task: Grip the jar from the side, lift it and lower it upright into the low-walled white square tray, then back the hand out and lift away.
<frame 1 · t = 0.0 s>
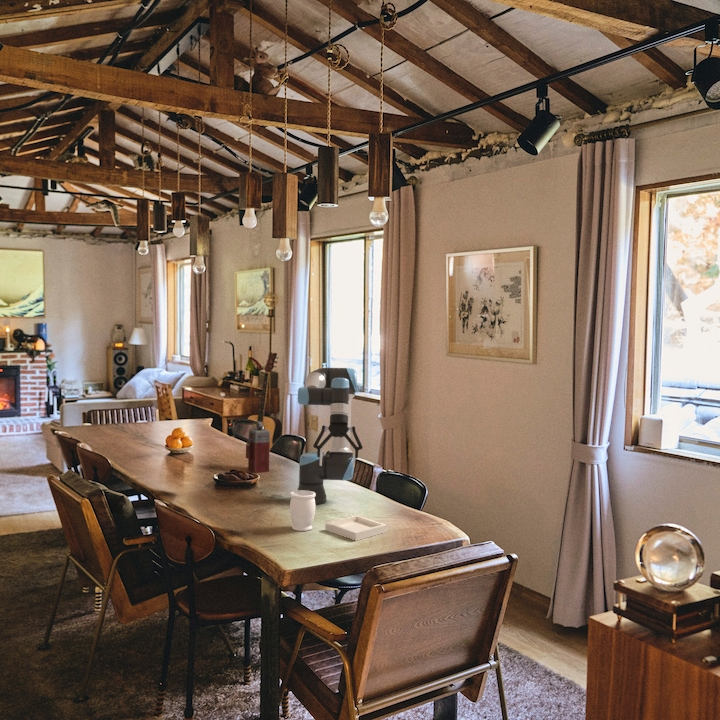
hand: (337, 466, 287), 28 cm above the table, tool tilted 20°, fingers open, 13 cm apart
jar: (302, 528, 294), on the table
white square tray: (356, 531, 292), on the table
toy vending machine: (256, 471, 397), on the table
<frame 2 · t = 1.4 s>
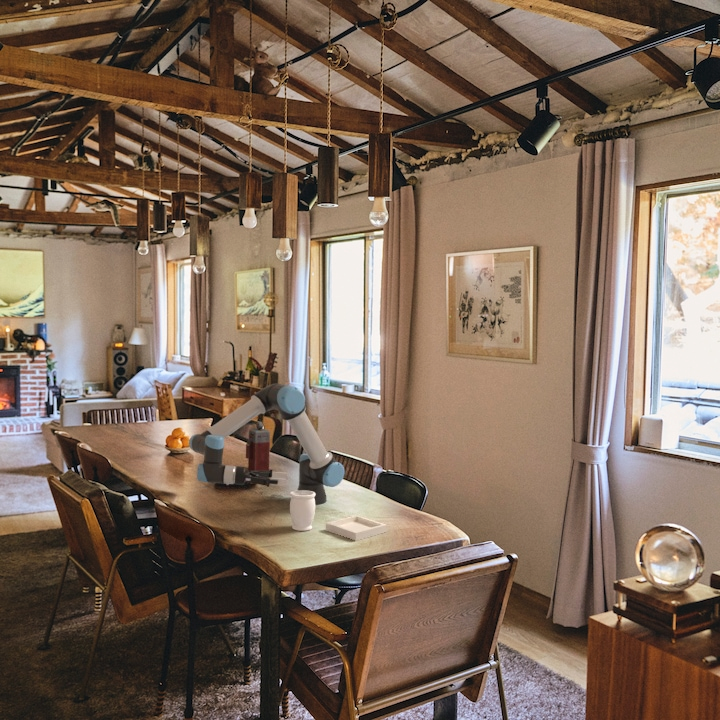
hand: (286, 479, 292), 21 cm above the table, tool horizontal, fingers open, 13 cm apart
nothing on the table moved.
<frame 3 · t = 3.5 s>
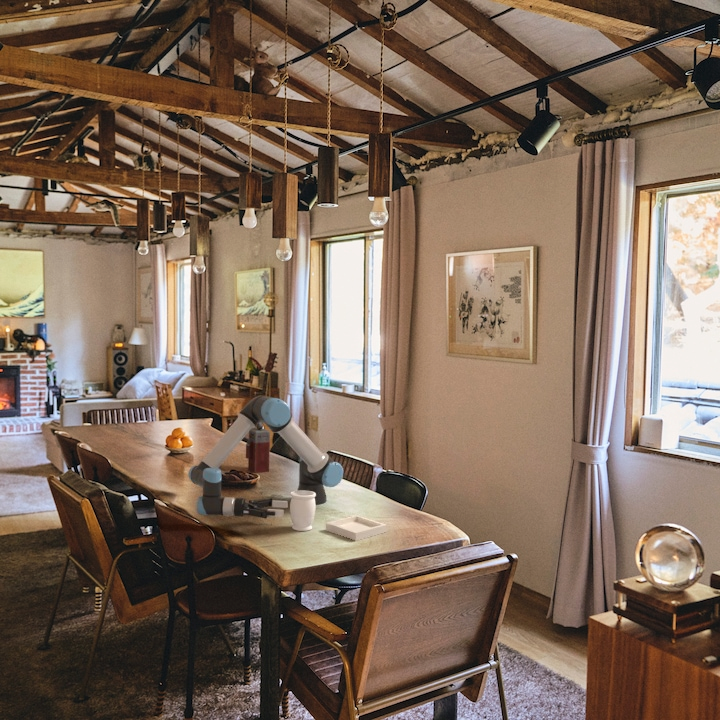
hand: (285, 508, 293), 8 cm above the table, tool horizontal, fingers open, 13 cm apart
nothing on the table moved.
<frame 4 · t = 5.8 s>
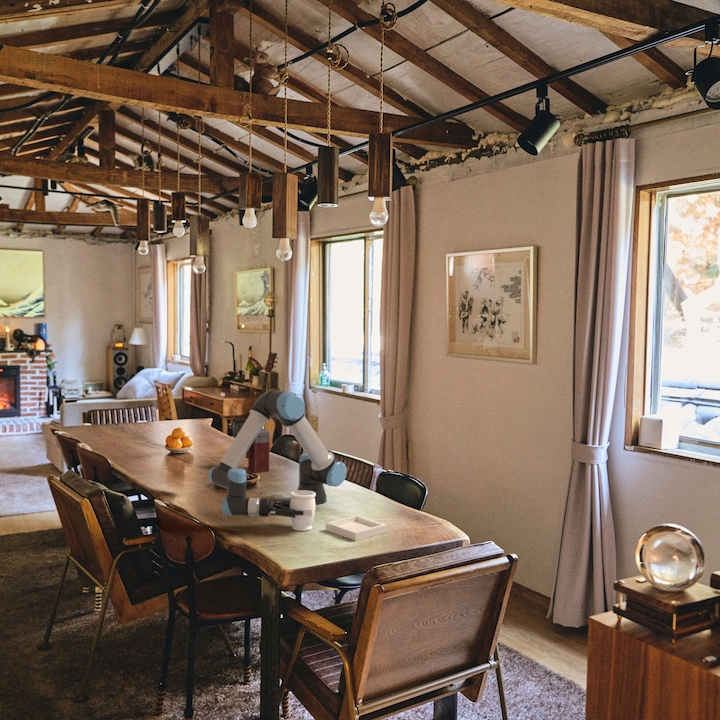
hand: (312, 509, 293), 8 cm above the table, tool horizontal, fingers closed on jar, 10 cm apart
jar: (302, 528, 294), on the table, touching gripper
everything else where it was.
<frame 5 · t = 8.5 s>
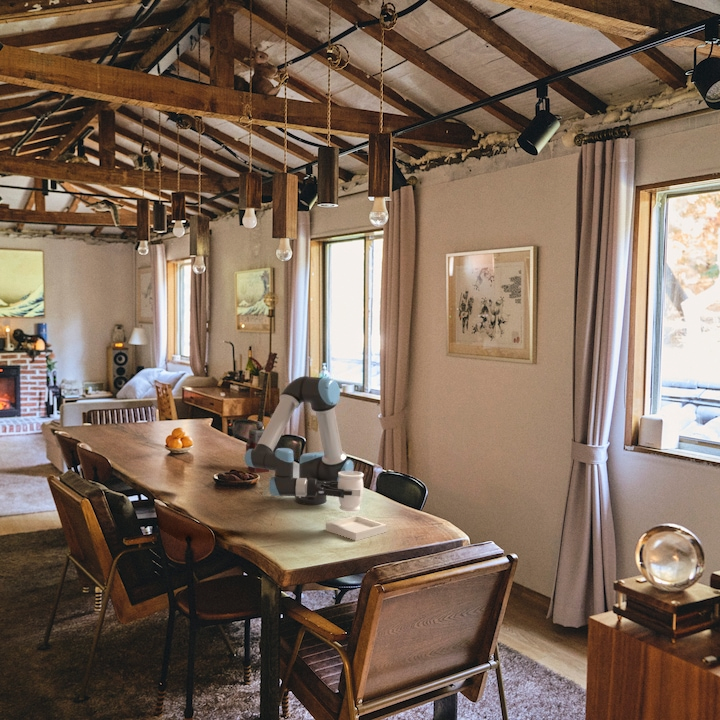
hand: (360, 489, 290), 18 cm above the table, tool horizontal, fingers closed on jar, 10 cm apart
jar: (349, 509, 291), point 9 cm above the table, touching gripper
everything else where it was.
when the fingers open (11 cm above the table, at t = 11.4 s): jar drops 1 cm, resting on white square tray.
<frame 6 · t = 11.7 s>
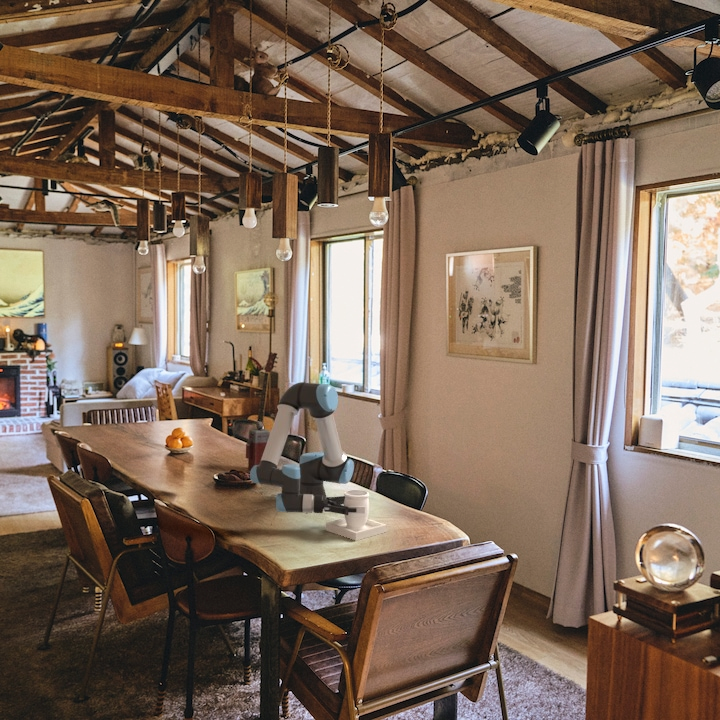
hand: (365, 505, 291), 11 cm above the table, tool horizontal, fingers open, 13 cm apart
jar: (355, 528, 292), point 1 cm above the table, touching white square tray
everything else where it was.
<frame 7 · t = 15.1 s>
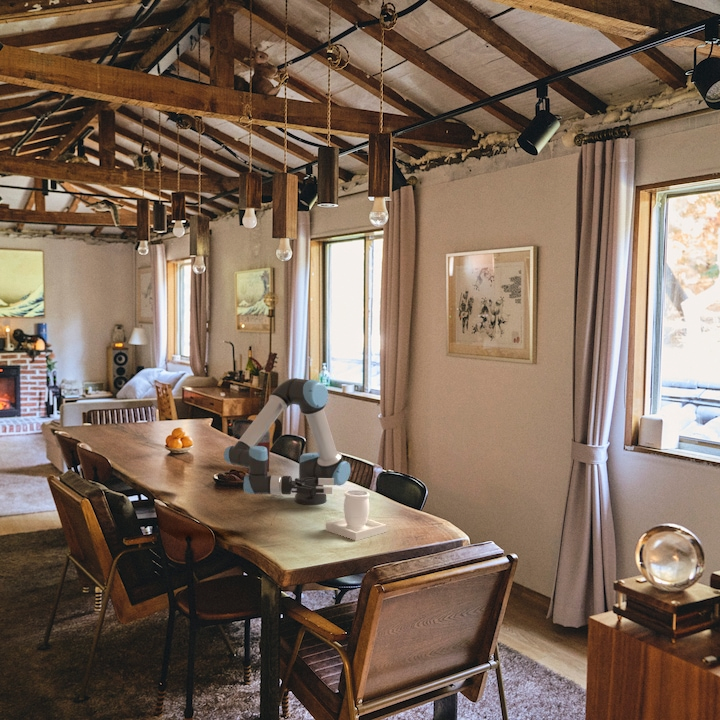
hand: (333, 486, 290), 19 cm above the table, tool horizontal, fingers open, 13 cm apart
nothing on the table moved.
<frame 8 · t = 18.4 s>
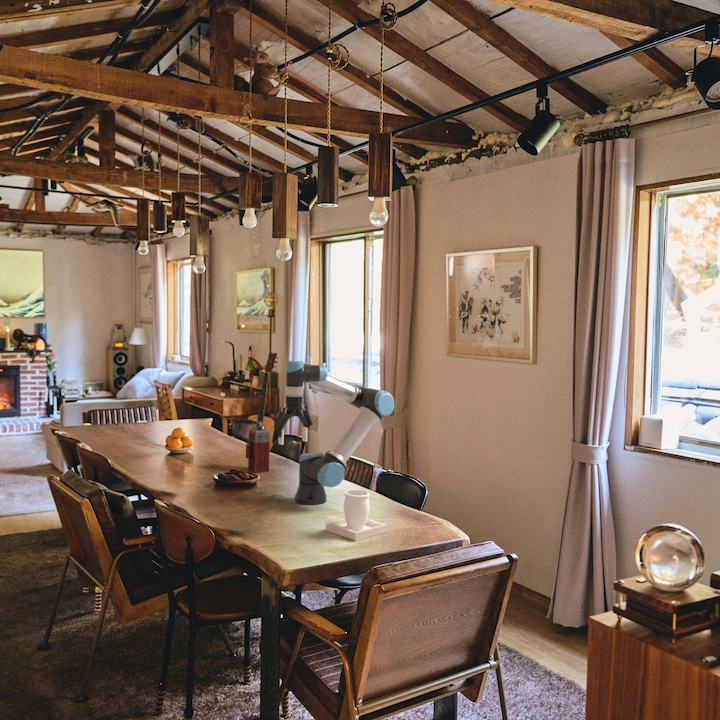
hand: (293, 442, 314), 32 cm above the table, tool pointing down, fingers open, 13 cm apart
nothing on the table moved.
at the end: jar inside the target area on the white square tray (0.1 cm from its centre), point 0.7 cm above the white square tray's base; jar tilted 0°; the gripper is holding nothing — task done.
